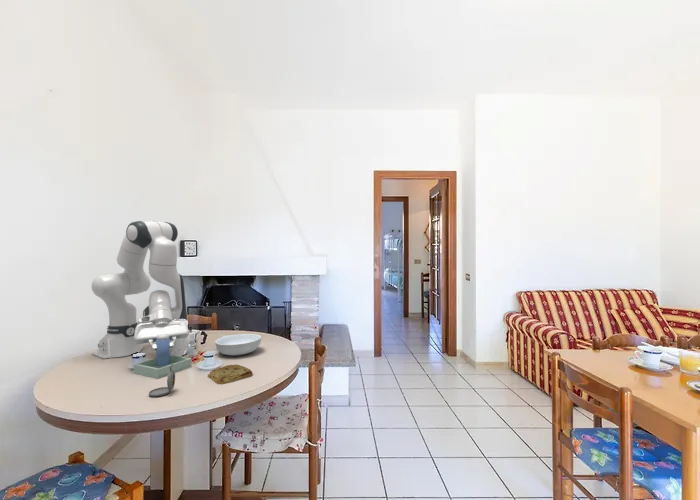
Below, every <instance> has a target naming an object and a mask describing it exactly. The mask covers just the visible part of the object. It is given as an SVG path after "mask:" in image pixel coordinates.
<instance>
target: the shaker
mask: <svg viewBox="0 0 700 500" xmlns="http://www.w3.org/2000/svg"><path fill="white" fill-rule="evenodd" d="M155 345H156V348H157V349H156V350H155V354H156V355H155V358H156V366H166V365H169V364H170V355H171V351H170V338H169V334H160V335H157V339H156V342H155Z"/></svg>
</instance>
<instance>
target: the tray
mask: <svg viewBox="0 0 700 500" xmlns="http://www.w3.org/2000/svg"><path fill="white" fill-rule="evenodd" d="M172 363H173V365H171V364H172ZM170 366H172V370H174V371H175V373H177V372H180V371H183V370H186V369H189V368H192V367H193V365H192V358H191V357H185V356H181V357H180V356H174V355H171V354H170V364H169V365H166V366H156V357H155V358H151V359H148V360H145V361H142V362H138V363H134V364H133V374H136V375H141V376H144V377H149V378H153V379H162V378H164V377H166V376H167V377H168V374H169V372H170Z"/></svg>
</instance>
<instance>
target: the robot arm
mask: <svg viewBox="0 0 700 500" xmlns="http://www.w3.org/2000/svg"><path fill="white" fill-rule="evenodd" d="M178 235H179V234H178V229H177V227H176V225H175V224H174V223H171V222H167V221H159V220H151V221H150V220H145V221H143V220H138V221H137V220H136V221H133V222H132V221H131V222H130V223H129V224H128V225H127V226H126V231H125V235H124V236H123V239H122V242H121V244H120V246H119V249H118V250H119V251H118V253H117V256H116V262H117V264H118V265H119V266H120V267H121V268H122V269H124V270H123V272H119V273H118V272H117V273H107V274H102V275H101V274H100V275H98V276H96V277H95V278H94V279H93V280H92V282H91V291H92V293H93V294H94V295H95V296H96V297H97V298H100V299H101V300H102V301H103V302H104V303H105V305H106V307H107V311H108V320H109V322H108V323H109V324H108V326H106V329H107V331H106V334H105V335H104V336H103V337H102V338H101V339H100V340H99V341H98V343H97V348H98V349H97V350H94V351H92V355H94V356H96V357H97V358H98V357H99V359H111V358H121V357H127V356H132V355H131V354H133V353H135V352H138V353H140V352H141V351H142V350H143V349H144V346H142V344H148V345H149V347H151V352H154V351H155V352H156V349H157V348H156V344H155V343H156V339H157V335H160V334H169V338H170V340H172V343H170V348H174V343H175V342H176V339H182V338H187V337H188V338H189V330H190V329H189V328H188V327H189V322H188V319H189V316H188V311H187V305H186V304H187V303H186V291H185V284H184V283H185V282H184V277H183V275H182V274H180V273H179V272H178V269H177V262H178V261H177V260H178V252H177V245H176V242H175V241H176V240H177V239H178ZM148 250H149V260H148V274H149V275H148V274H147V273H146V272H145V269H144V264H145V262H146V261H145V260H146V258H147V254H148ZM150 278H151V279H153V280H154V281H155V282H156V283H157V282H158V283H160V284H161V285H166V286H168V287H170V288H172V289H173V290H174V296H175V297H174V298H175V306H173V307H172V301H171V300H172V299H171V298H170V297H171V296H170V294H169V291H166V290H164V289H162V290H161V289H159V290H158V289H157V290H154V291H151V292H150V293H149V298H148V305H147V306H146V307H145V308H144V310H142V311H143V312H142V317H140V318H138V320H137V308H136V306H135V305H134V304H133V303H131V302H128V301H127V300H126V296H131V295H139V294H142V293H144V292H147V291H148V290H149V288H150V286H151V283H152V282H151V279H150ZM133 355H134V354H133Z"/></svg>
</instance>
